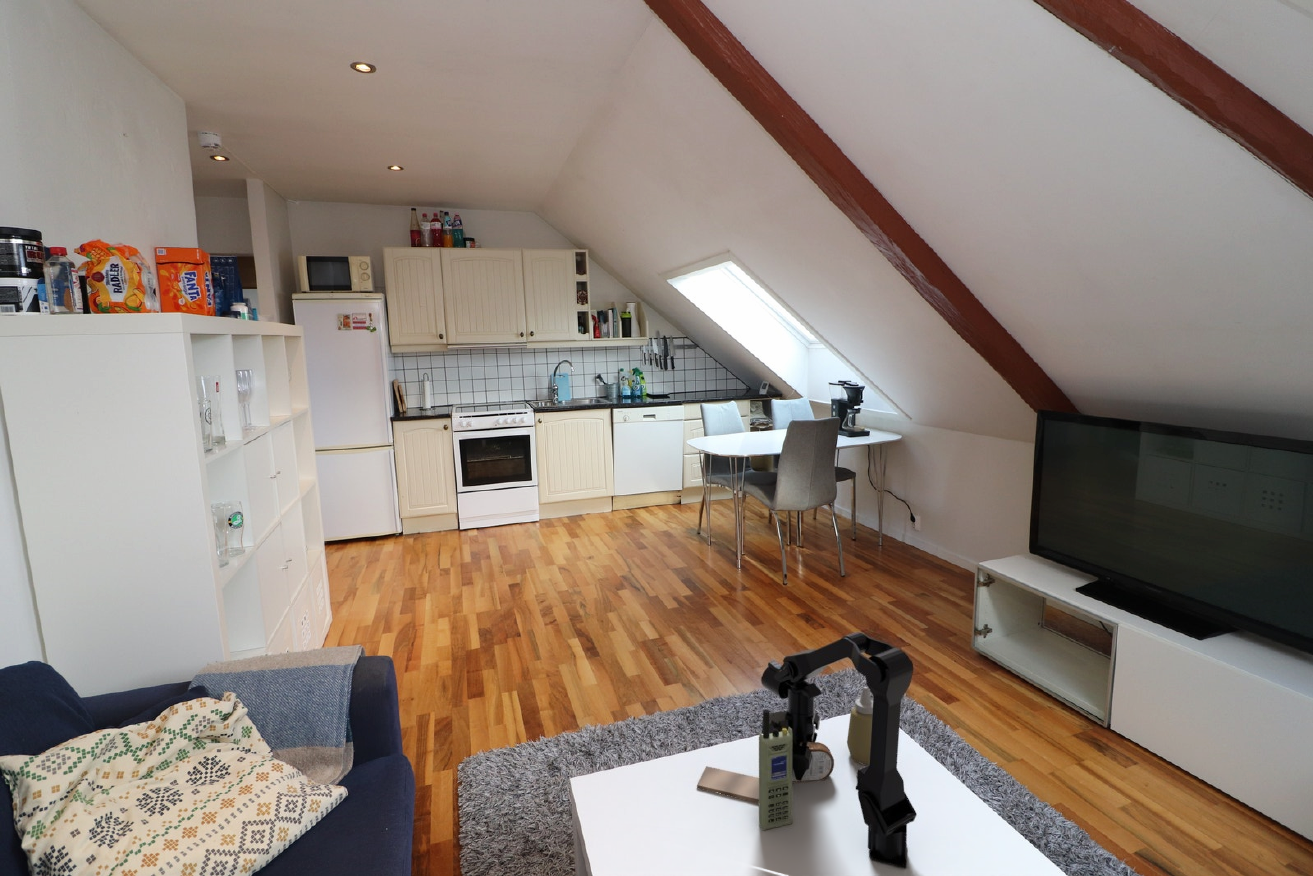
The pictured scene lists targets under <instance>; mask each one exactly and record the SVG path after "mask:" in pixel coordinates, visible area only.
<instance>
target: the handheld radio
mask: <svg viewBox="0 0 1313 876" xmlns="http://www.w3.org/2000/svg"><path fill="white" fill-rule="evenodd" d="M769 713H770V710H769V709H767V708H765V709H763V710H762V720H763V730H764V732H763V733H762V731H759V733H758V734H759V736H758V778H759V803H758V823H759V827H760V829H761V830H762V831H767V830H769V829H774V828H779V827H784V826H788V825H792V823H793V783H792V729H791V728H790V727H789V728H788V730H787V729H786V728H783V729H782V732H779V731H778V729H774V730H773V733H771V734H769Z"/></svg>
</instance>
